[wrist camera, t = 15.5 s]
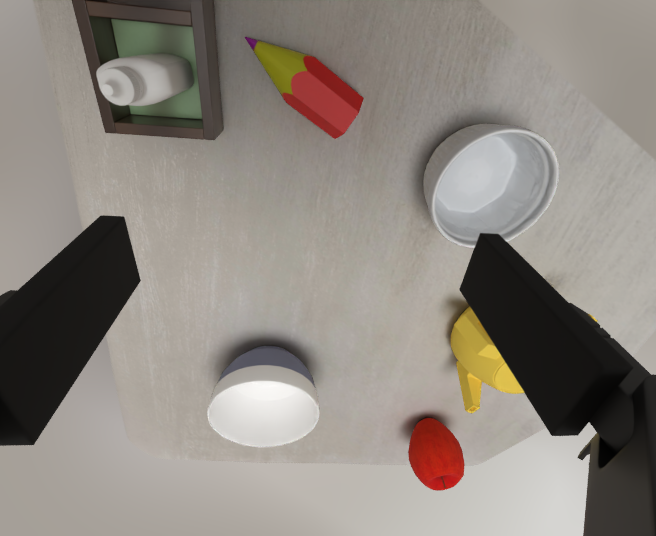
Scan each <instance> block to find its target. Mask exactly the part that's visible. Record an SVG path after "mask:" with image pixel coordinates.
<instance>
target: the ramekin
mask: <svg viewBox="0 0 656 536" xmlns="http://www.w3.org/2000/svg"><path fill="white" fill-rule="evenodd" d="M424 174H425V175H424V178H423V180H424V182H423V187H424V195H425V199H426V202H427V205H428V210H429V214H430V217H431V220H432V222H433V224H434V225H435V227H436V228H437V229H438V231H439V232H440V233H441V234H442V235H443V236H444V237H445V238H446V239H447V240H449V241H450V242H452V243H454V244H456V245H459V246H462V247H467V248H475V245H476V243H477V240H478V237H479V234H480V233H492V234H499V235H500V236H501V237H502V238H503V239H504V240H505V241H506V242H507V241H510V240H512V239H513V238H515V237H517V236H519V235H520V234H522V233H523V232H525V231H526V230H527V229H529V228H530V227H531V226H532V225H533V224H534V223H535V222H536V221H537V220H538V219H539V218H540V217H541V216H542V214H543V213H544V212H545V211H546V209H547V208H548V206H549V204H550V203H551V201H552V199H553V197H554V194H555V192H556V189H557V185H558V180H559V164H558V160H557V156H556V154H555V152H554V150H553V148H552V147H551V145H550V144H549V143H548V142H547V141H546V140H545V139H544V138H543V137H541V136H540V135H538V134H537V133H535V132H533V131H531V130H529V129H526V128H523V127H519V126H511V125H497V124H478V125H472V126H470V127H465V128H464V129H461V130H459V131H457V132H456V133H454V134H452V135H451V136H450V137H448V138H446V140H445V141H443V142H442V143H441V144H440V145H439V146H438V147H437V148H436V150H435V151H434V153H433V155H432V157H431V158H430V159H429V162H428V164H427V166H426V170H425V173H424Z"/></svg>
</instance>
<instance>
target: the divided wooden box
mask: <svg viewBox="0 0 656 536" xmlns="http://www.w3.org/2000/svg"><path fill="white" fill-rule="evenodd" d="M72 3H73V7H74V11H75V15H76V19H77V23H78V27H79V31H80V34H81V38H82V42H83V46H84V50H85V54H86V58H87V62H88V66H89V70H90V74H91V78H92V82H93V86H94V90H95V94H96V98H97V102H98V105H99V109H100V113H101V117H102V121H103V125H104V129H105V133H118V134H132V135H147V136H162V137H177V138H192V139H206V140H215V139H216V138H217V137H218V135H219V134H220V133H221V132H222V131H223V118H222V105H221V92H220V79H219V66H218V53H217V40H216V26H215V13H214V0H72ZM155 53H165V54H172V55H176V56H179V57H182V58H184V59H186V60H187V61H188V62H189V63H190V65H191V69H192V73H193V78H194V84H193V86H192V87H190V88H189V89H187V90H185V91H183V92H181V93H179V94H177V95H174V96H172V97H170V98H168V99H166V100H163V101H161V102H158V103H155V104H151V105H146V106H131V105H126V106H125V105H124V106H119V105H116V104H114V103H112V102H110V101H109V100H107V98H105V96H104V95H103V93H102V92H101V90H100V87H99V83H98V80H97V76H96V72H97V70H98V68H99V67H100V66H102V65H103V64H105V63H107V62H109V61H111V60H114V59H118V58H123V57H130V56H138V55H146V54H155Z"/></svg>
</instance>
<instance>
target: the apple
mask: <svg viewBox="0 0 656 536" xmlns="http://www.w3.org/2000/svg"><path fill="white" fill-rule="evenodd" d="M408 453H409V461H410V464H411V467H412V469H413V471H414V473H415V475H416V476H417V477H418V478H419V479H420V481H421V482H422V483H423V484H424V485H425V486H427V487H429V488H430V489H433V490H445V489H448V488H451V487H454V486H455V485H456V484H457V483H458V482H459V481H460V479H461V478H462V477H463V475H464V459H463V453H462V449H461V447H460V444H459V442H458V441H457V439H456V438H455V436H454V435H453V433H452V432H451V431H450V430H449V429H448V428H447V427H446V426H444V425H443V424H442V423H441V422H439V421H438V420H436V419H433V418H425V419H423V420H421V421H419V422H418V423H417V425H416V426H415V428H414V430H413V433H412V436H411V439H410V445H409V451H408Z"/></svg>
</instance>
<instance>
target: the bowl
mask: <svg viewBox="0 0 656 536" xmlns="http://www.w3.org/2000/svg"><path fill="white" fill-rule="evenodd" d="M207 415H208V420H209V423H210V424H211V426H212V428H213V429H214V430H215V431H216V432H217V433H218V434H220V435H221V436H222V437H224V438H226V439H228V440H230V441H232V442H235V443H238V444H241V445H246V446H252V447H274V446H281V445H285V444H289V443H292V442H294V441H297V440H299V439H301V438H302V437H304V436H306V435H307V434H308V433H309V432H311V431H312V429H313V428H314V427H315V426H316V424H317V421H318V419H319V403H318V396H317V392H316V389H315V385H314V381H313V378H312V376H311V374H310V372H309V371H308V370H307V368H306V367H305V366H304V364H303V363H302V362H301V361H300V360H299V359H298V358H297V357H296V356H294V355H293V354H291V353H290V352H288V351H287V350H285V349H283V348H280V347H276V346H261V347H257V348H254V349H252V350H250V351H249V352H246V353H244V354H242V355H240V356H239V357H238V358H236V359H235V360H234V361H233V362H232V363H231V364H230V365H229V366H228V367H227V368H226V369H225V370H224V371H223V373H222V375H221V377H220V379H219V381H218V383H217V385H216V386H215V388H214V391H213V393H212V396H211V399H210V402H209V406H208V411H207Z"/></svg>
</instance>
